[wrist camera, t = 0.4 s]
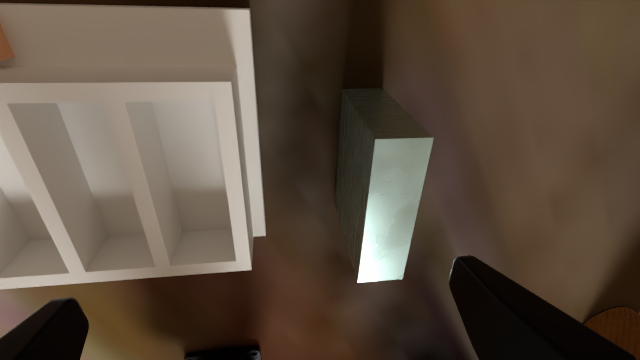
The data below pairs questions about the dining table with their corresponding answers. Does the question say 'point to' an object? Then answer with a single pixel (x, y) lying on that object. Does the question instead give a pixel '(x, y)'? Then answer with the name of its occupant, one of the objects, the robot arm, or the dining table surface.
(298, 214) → the dining table surface
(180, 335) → the dining table surface
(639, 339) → the disposable coffee cup
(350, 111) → the metal block
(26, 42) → the rack
